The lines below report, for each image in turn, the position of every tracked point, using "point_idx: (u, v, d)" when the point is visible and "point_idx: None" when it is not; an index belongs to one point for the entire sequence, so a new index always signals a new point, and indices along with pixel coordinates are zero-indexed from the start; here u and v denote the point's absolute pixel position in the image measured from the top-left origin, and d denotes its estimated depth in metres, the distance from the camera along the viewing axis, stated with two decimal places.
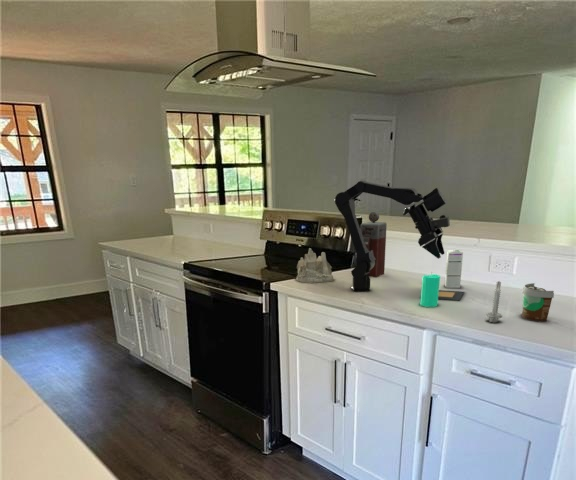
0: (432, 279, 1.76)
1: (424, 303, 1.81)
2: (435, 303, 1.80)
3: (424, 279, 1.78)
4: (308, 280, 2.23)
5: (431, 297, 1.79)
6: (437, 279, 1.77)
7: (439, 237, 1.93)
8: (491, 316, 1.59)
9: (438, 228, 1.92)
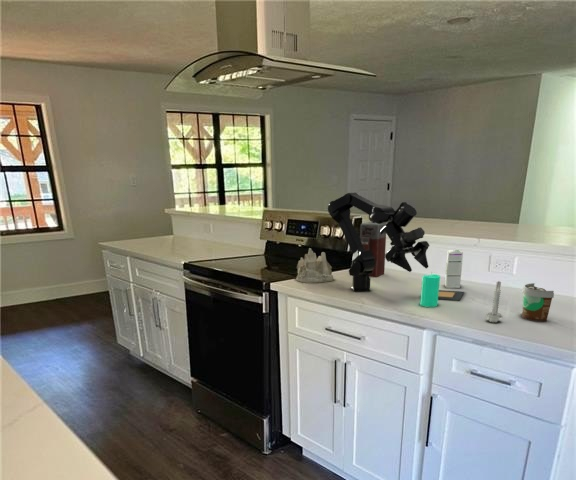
0: (432, 279, 1.76)
1: (424, 303, 1.81)
2: (435, 303, 1.80)
3: (424, 279, 1.78)
4: (308, 280, 2.23)
5: (431, 297, 1.79)
6: (437, 279, 1.77)
7: (421, 251, 1.85)
8: (491, 316, 1.59)
9: (420, 242, 1.85)
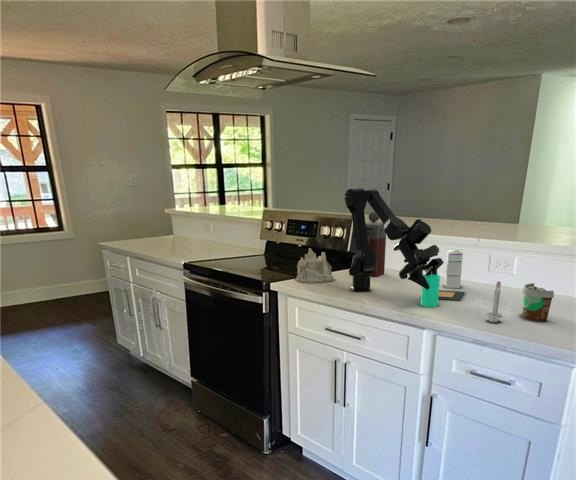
0: (432, 279, 1.76)
1: (424, 303, 1.81)
2: (435, 303, 1.80)
3: None
4: (308, 280, 2.23)
5: (431, 297, 1.79)
6: (437, 279, 1.77)
7: (433, 269, 1.81)
8: (491, 316, 1.59)
9: (434, 259, 1.82)
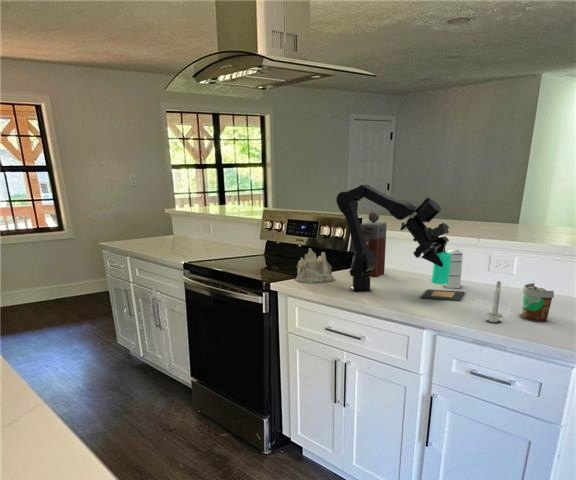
0: (446, 256, 1.80)
1: (437, 280, 1.83)
2: (447, 280, 1.84)
3: None
4: (308, 280, 2.23)
5: (444, 274, 1.82)
6: (450, 256, 1.80)
7: (441, 247, 1.85)
8: (491, 316, 1.59)
9: (441, 237, 1.86)
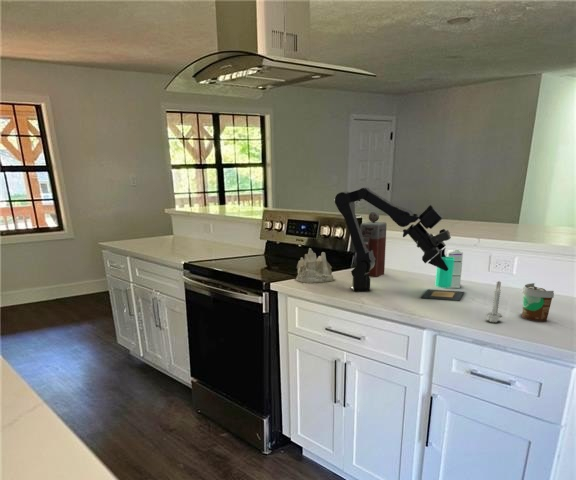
0: (450, 261, 1.88)
1: (442, 284, 1.91)
2: (451, 283, 1.92)
3: None
4: (308, 280, 2.23)
5: (449, 278, 1.90)
6: (453, 260, 1.89)
7: (442, 252, 1.93)
8: (491, 316, 1.59)
9: (440, 243, 1.94)
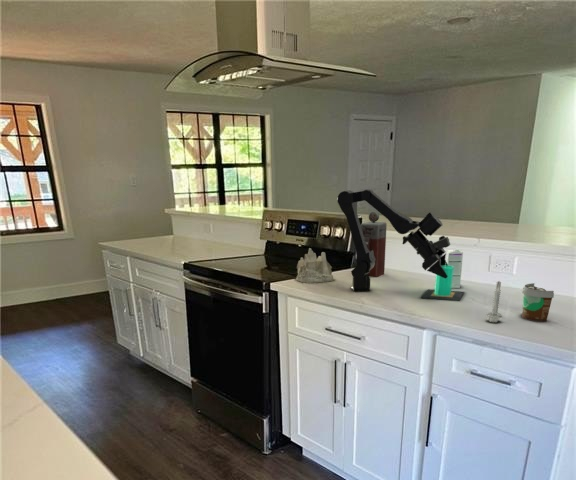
0: (450, 269, 1.89)
1: (442, 292, 1.92)
2: (450, 291, 1.94)
3: None
4: (308, 280, 2.23)
5: (448, 286, 1.91)
6: (452, 269, 1.90)
7: (443, 257, 1.95)
8: (491, 316, 1.59)
9: (440, 249, 1.95)
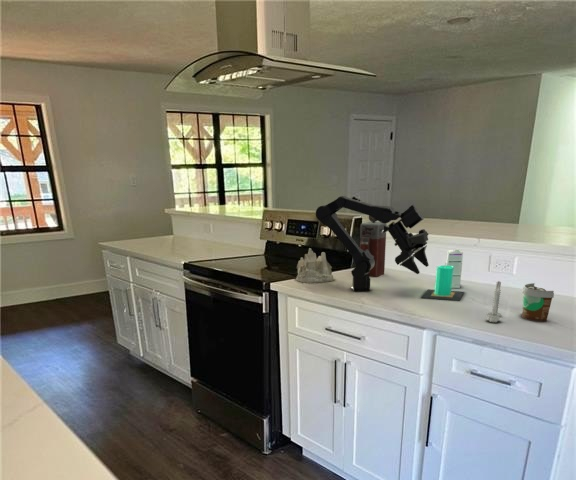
0: (450, 269, 1.89)
1: (442, 292, 1.92)
2: (450, 291, 1.94)
3: (442, 270, 1.89)
4: (308, 280, 2.23)
5: (448, 286, 1.91)
6: (452, 269, 1.90)
7: (422, 250, 1.97)
8: (491, 316, 1.59)
9: None
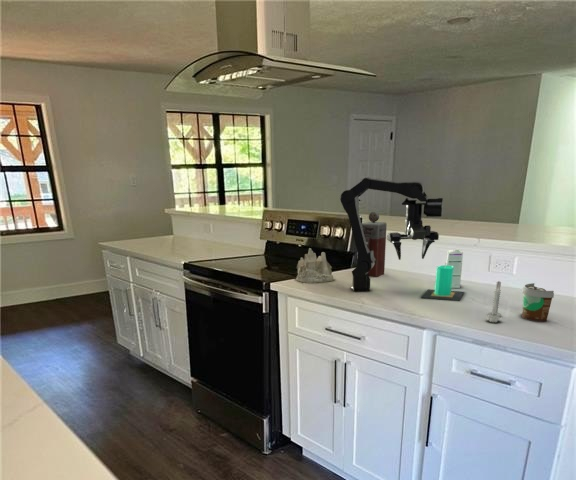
0: (450, 269, 1.89)
1: (442, 292, 1.92)
2: (450, 291, 1.94)
3: (442, 270, 1.89)
4: (308, 280, 2.23)
5: (448, 286, 1.91)
6: (452, 269, 1.90)
7: (426, 242, 1.93)
8: (491, 316, 1.59)
9: (429, 234, 1.91)
